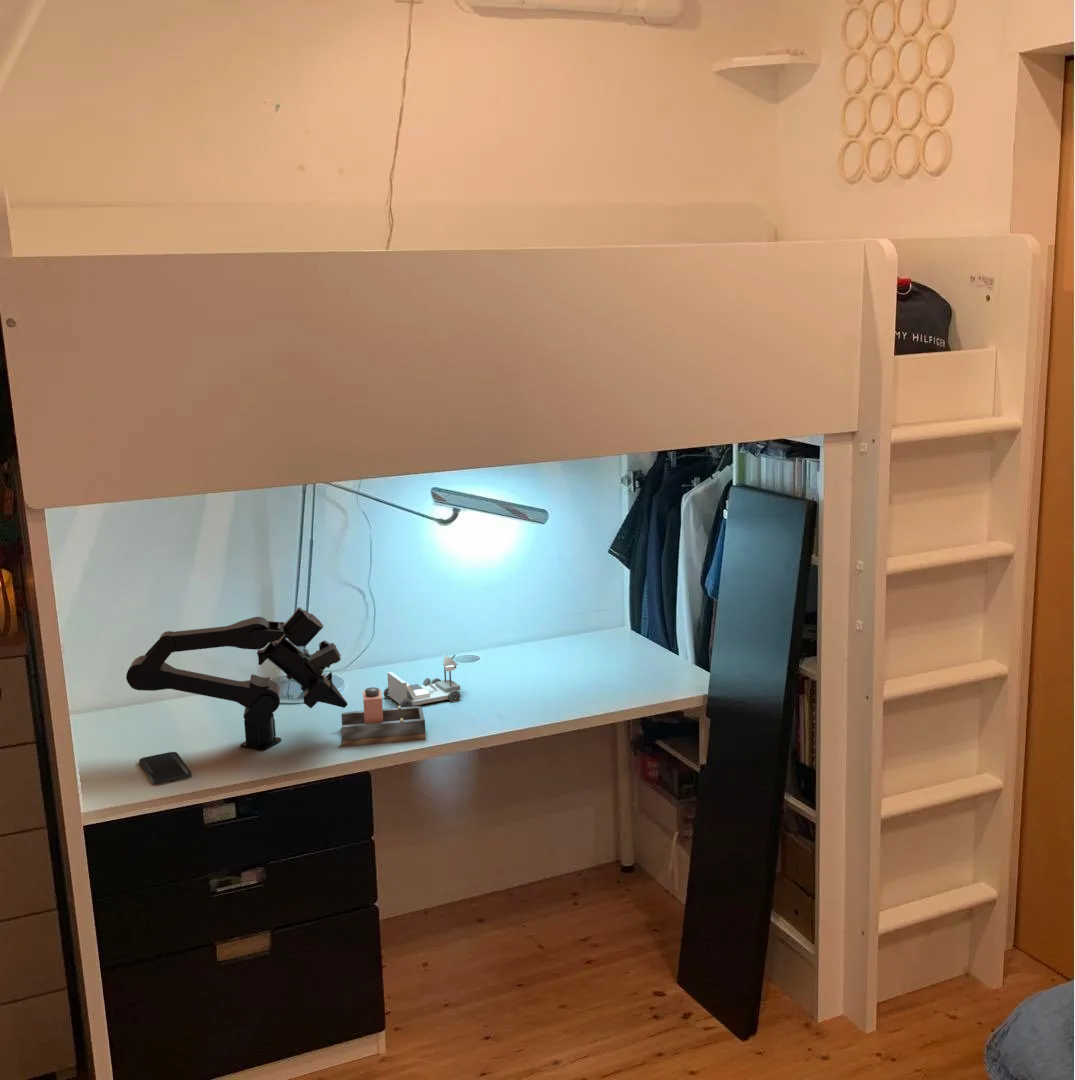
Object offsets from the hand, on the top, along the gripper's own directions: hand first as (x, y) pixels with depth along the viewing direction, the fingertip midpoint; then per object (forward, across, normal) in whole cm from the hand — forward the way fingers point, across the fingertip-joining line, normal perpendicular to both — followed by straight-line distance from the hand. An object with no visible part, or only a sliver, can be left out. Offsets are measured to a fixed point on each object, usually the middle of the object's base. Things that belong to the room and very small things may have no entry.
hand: (346, 705), depth 254 cm
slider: (+8, 0, 0) cm, 8 cm away
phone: (-21, -10, +32) cm, 40 cm away
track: (+11, 0, 0) cm, 11 cm away
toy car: (+19, +22, -8) cm, 30 cm away
